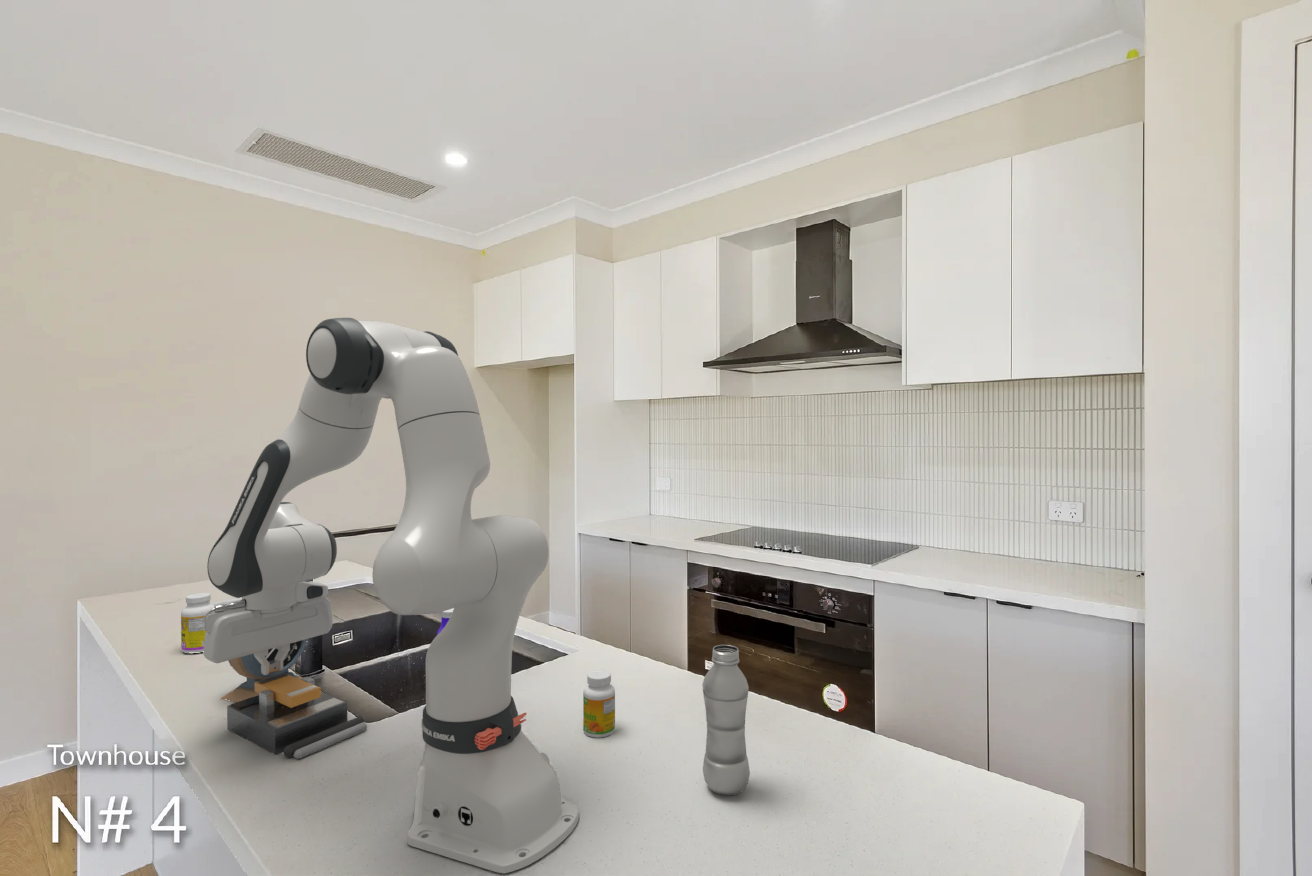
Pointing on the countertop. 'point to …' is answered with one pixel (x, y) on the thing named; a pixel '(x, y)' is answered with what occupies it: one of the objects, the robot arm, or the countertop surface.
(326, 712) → the dark grey block
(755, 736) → the countertop surface
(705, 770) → the plastic bottle
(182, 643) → the supplement bottle
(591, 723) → the supplement bottle
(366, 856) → the countertop surface
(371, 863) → the countertop surface
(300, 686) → the orange striped box
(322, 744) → the grey rounded bar
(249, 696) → the alarm clock
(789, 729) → the countertop surface
